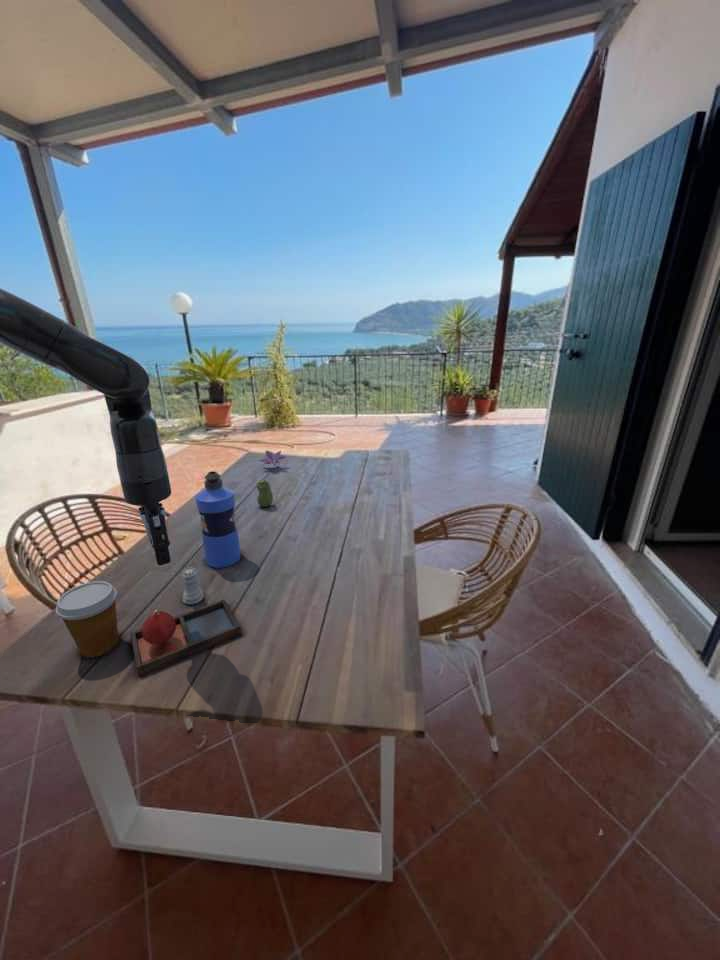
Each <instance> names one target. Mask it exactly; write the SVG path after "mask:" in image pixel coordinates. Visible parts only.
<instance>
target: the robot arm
mask: <svg viewBox="0 0 720 960" xmlns="http://www.w3.org/2000/svg"><path fill="white" fill-rule="evenodd" d="M0 344H1V345H3V346H5V347H7V348H9V349H11V350H13V351H14V352H17V353H19V354H22V355H24V356H26V357H28V358H30V359H32V360H34V361H37V362H38V363H41V364H43V365H45V366H46V367H50V368H52V369H55V370H57V371H59V372H62V373H64V374H67V375H68V376H70V377H72V378H74V380H77V381H79V382H80V383H82V384H83V385H86V386H88V387H89V388H91V389H94V391H97V392H98V393H101V394H103V396H104V397H103V398H104V401H105V404H106V407H107V411H108V415H109V427H110V435H111V441H112V443H113V448H114V453H115V461H116V468H117V472H118V477H119V481H120V485H121V490H122V494H123V498H124V501H125V503H127V504H129V505H132V506H139V507H138V513H139V516H140V521H141V523H143V525H144V529H145V533H146V536H147V537H148V538H149V543H150V545H151V547H152V549H153V550H154V555H155V559H156V563H157V566H165V565H167V564H170V563H171V562H172V560H171V554H170V550H169V546H171V541H170V539H169V535H168V532H169V531H168V530H169V527H168V524H167V520H166V510H165V507H164V506H163V502H162V501H165V500H167V499H168V498H169V497H170V496H171V495H172V488H171V482H170V477H169V472H168V466H167V461H166V456H165V453H164V451H163V448H162V442H161V437H160V432H159V427H158V423H157V420H156V418H155V416H154V413H153V408H152V406H153V405H152V401H151V400H152V399H151V395H150V386H151V385H150V383H151V378H150V375H149V373H148V370H147V368H146V367H145V366H144V364H142V362H140V361H139V360H138V359H137V358H135V357H133V356H131V355H129V354H125V353H123V352H121V351H119V350H117V349H115V348H113V347H111V346H110V345H107V344H105V343H104V342H101V341H99V340H97V339H94V338H92V337H91V336H89V335H88V334H86V333H85V332H83V331H82V330H81V329H79V328H78V327H76V326H74V325H73V324H71V323H69V322H68V321H65V320H64V319H62V318H60V317H58V316H56V315H54V314H52V313H50V312H49V311H46V310H45V309H43V308H41V307H38V306H37V305H35V304H33V303H31V302H29V301H27V300H25V299H24V298H21V297H19V296H17V295H15V294H13V293H11V292H9V291H7V290H4V289H2V288H0Z"/></svg>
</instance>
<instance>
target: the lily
mask: <svg viewBox="0 0 720 960" xmlns="http://www.w3.org/2000/svg"><path fill="white" fill-rule="evenodd" d="M264 455H265V457H264V458H262V459H260V460H259V462H261V463H263V465H264V464H270V465H273V464H274V467H276V465H275V463H279V464H280V461H281V460H284V459H287V458H288V455H284V454H282V450H279V451H276V452H275V453H274V452H272V451H270V450H265V451H264ZM271 463H272V464H271ZM274 469H275V468H274ZM275 472H276V473H277V468H276V469H275Z"/></svg>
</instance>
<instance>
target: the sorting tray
mask: <svg viewBox="0 0 720 960" xmlns="http://www.w3.org/2000/svg"><path fill="white" fill-rule="evenodd" d="M172 617H173V618H174V620H175V623H176V630H175V632H174V634H173V636H172V637H171V638H170V639H169V640H168V641H167V642H166V643H165V644H164V645H152V644H149V643H148V642H146V641H145V640H144V638H143V635H142V628H139V629H136V630H134V631H130V632H129V635H130V640H131V644H132V650H133V656H134V660H135V667H136V671H137V674H138V677H141V676H144V675H147V674H148V673H151V672H153V671H156V670H158V669H161V668H163V667H166V666H168V665H171V664H173V663H175V662H178V661H180V660H183V659H185V658H187V657H190V656H192V655H194V654H198V653H200V652H202V651H204V650H207V649H209V648H211V647H214V646H217V645H219V644H221V643H223V642H226V641H228V640H231V639H233V638H236V637H238V636H240V635H242V628H241V625H240V623H239V622H238V620H237V617H236V616H235V615H234V613H233V611H232V609H231V608H230V606H229V604H228V603H227V600H226V599H225V598H224V599H221V600H218V601H214V602H212V603H209V604H207V605H206V604H205V605H204V606H201V607H198V608H195V609H193V610H190V611H186V612H184V613H181V614H178V615H176V616H172Z"/></svg>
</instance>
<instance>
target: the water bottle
mask: <svg viewBox="0 0 720 960" xmlns="http://www.w3.org/2000/svg"><path fill="white" fill-rule="evenodd" d="M221 477H222V475H221V474H219V473H218V472H217V471H209V472H207V474H205V476H204V479H205V480H204V488H205V489H204V490H202V491H200V492H199V493H197V494H196V495H195V504H196V509H197V511H198V514H199V517H200V521H201V538H202V544H203V550H204V557H205V564H206V565H207V566H209V567H211V568H214V569H215V568H216V569H217V568H220V569H221V568H227V567H230V566H232V565H235V564H237V563H238V562H239V561H240V559H241V557H242V556H241V555H242V554H241V548H240V539H239V531H238V526H237V522H236V518H235V511H236V510H235V506H236V499H235V492H234V490H233V489H230V488H226V487H223V480H222V478H221Z"/></svg>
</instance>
